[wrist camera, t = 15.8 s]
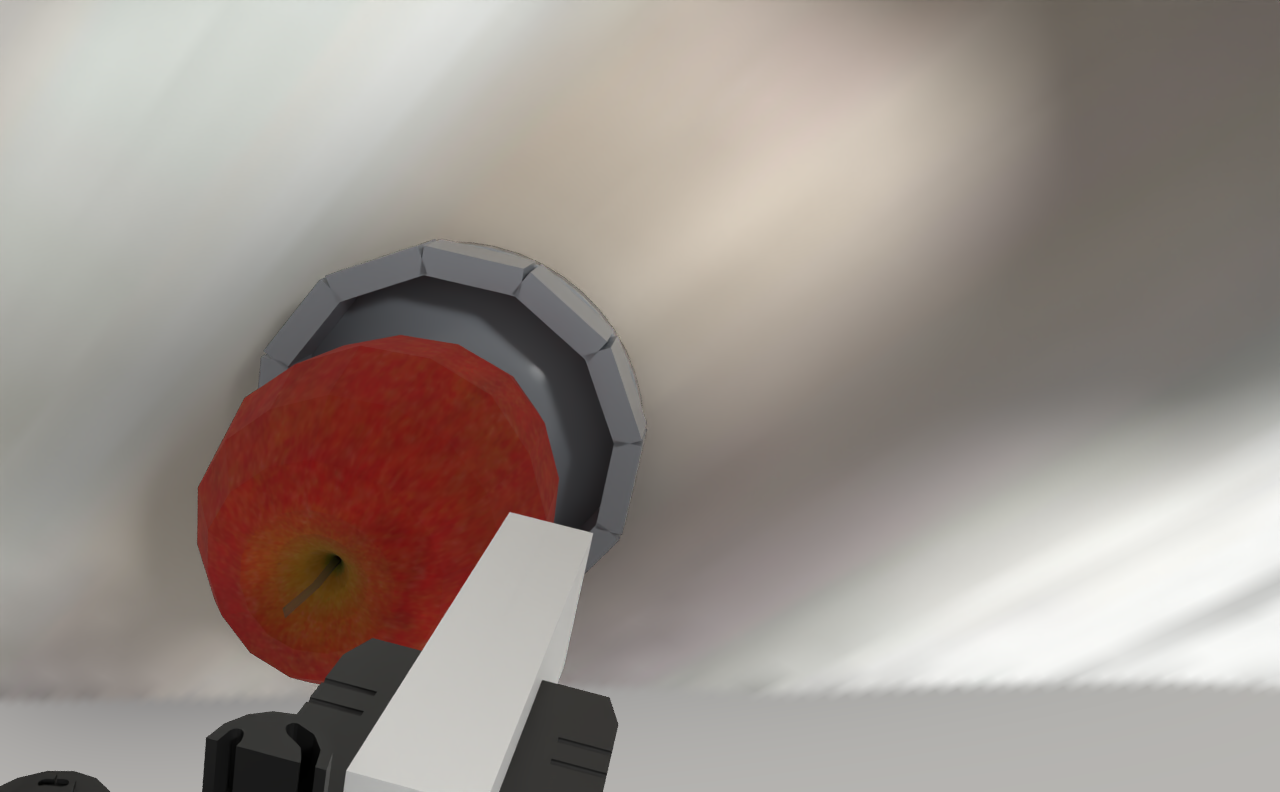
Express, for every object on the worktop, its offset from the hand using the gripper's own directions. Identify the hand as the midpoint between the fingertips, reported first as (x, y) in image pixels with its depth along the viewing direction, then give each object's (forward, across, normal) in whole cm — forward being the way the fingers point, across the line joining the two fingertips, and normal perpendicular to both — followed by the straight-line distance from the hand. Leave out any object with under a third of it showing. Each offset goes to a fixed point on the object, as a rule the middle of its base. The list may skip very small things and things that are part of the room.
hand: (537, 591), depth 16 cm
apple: (+18, -6, -5) cm, 20 cm away
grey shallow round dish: (+19, -6, -5) cm, 20 cm away
